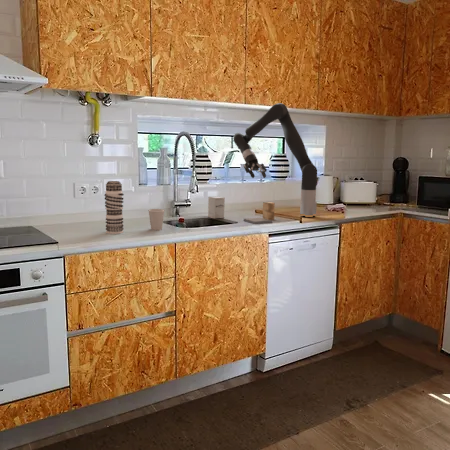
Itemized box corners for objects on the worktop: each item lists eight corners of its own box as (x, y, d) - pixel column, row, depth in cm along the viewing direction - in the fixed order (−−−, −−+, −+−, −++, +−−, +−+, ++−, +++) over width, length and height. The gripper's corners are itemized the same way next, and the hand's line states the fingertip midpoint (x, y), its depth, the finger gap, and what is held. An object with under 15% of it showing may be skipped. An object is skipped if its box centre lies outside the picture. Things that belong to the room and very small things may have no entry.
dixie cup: (145, 228, 240) (144, 209, 238) (157, 227, 246) (157, 208, 245) (155, 231, 234) (155, 211, 233) (168, 229, 241) (168, 210, 239)
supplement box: (214, 218, 280) (214, 197, 278) (207, 217, 286) (208, 196, 284) (224, 217, 285) (224, 197, 283) (217, 216, 291) (217, 196, 289)
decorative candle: (119, 230, 235) (118, 180, 232) (127, 232, 228) (126, 181, 224) (102, 231, 230) (101, 180, 226) (109, 234, 223) (108, 182, 219)
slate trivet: (260, 219, 280) (261, 217, 280) (272, 222, 269) (272, 220, 269) (243, 220, 274) (243, 218, 274) (254, 223, 264) (254, 221, 263)
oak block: (269, 218, 287) (270, 202, 285) (274, 219, 282) (274, 202, 281) (262, 218, 284) (263, 202, 283) (267, 219, 280) (267, 203, 279)
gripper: (242, 153, 290) (252, 173, 283) (261, 153, 298) (271, 173, 290) (238, 161, 296) (247, 181, 288) (256, 161, 303) (266, 180, 295)
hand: (259, 177), depth 289 cm, fingers open, 8 cm apart
